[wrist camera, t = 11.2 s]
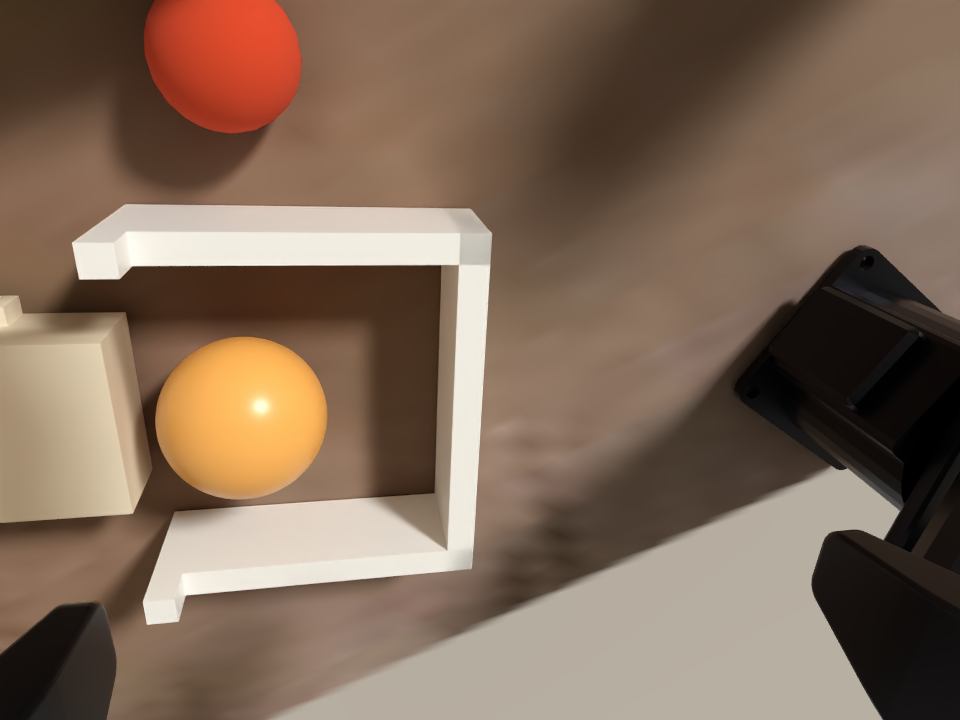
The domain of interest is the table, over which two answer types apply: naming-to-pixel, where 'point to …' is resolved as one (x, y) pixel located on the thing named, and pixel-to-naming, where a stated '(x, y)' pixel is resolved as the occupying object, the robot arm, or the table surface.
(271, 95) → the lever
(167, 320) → the table surface
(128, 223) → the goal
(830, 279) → the robot arm
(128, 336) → the beige peg stand
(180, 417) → the ball
